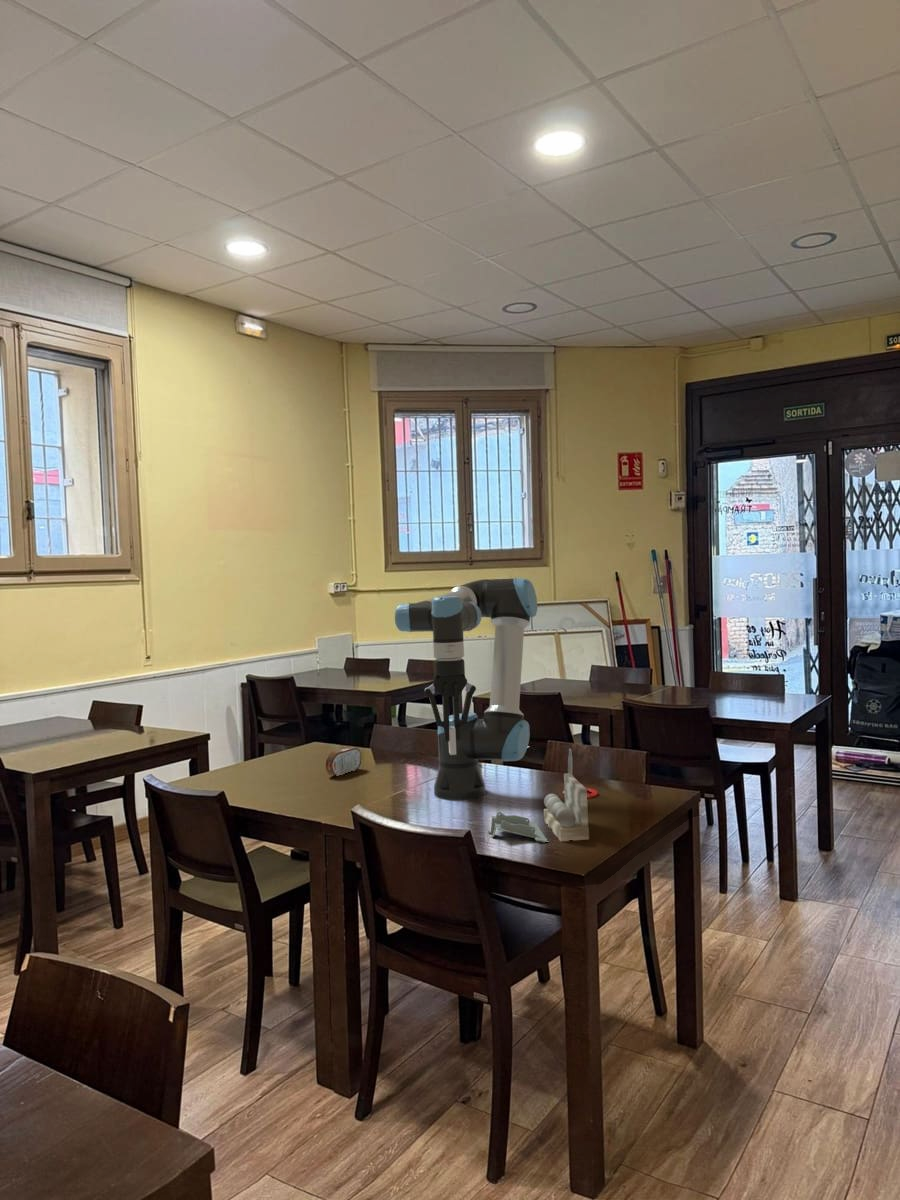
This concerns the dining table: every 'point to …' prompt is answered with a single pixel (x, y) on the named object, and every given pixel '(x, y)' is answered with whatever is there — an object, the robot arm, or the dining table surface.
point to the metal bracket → (516, 826)
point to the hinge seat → (568, 811)
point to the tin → (343, 760)
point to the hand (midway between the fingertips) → (452, 753)
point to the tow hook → (572, 775)
